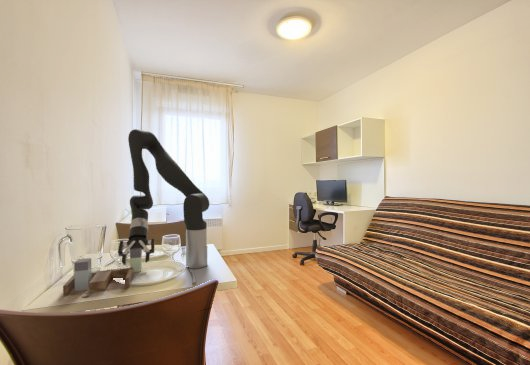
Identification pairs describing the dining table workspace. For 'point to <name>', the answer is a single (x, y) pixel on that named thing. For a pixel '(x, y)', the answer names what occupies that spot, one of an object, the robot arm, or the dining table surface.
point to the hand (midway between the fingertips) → (135, 262)
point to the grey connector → (82, 274)
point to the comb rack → (101, 281)
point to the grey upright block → (136, 259)
